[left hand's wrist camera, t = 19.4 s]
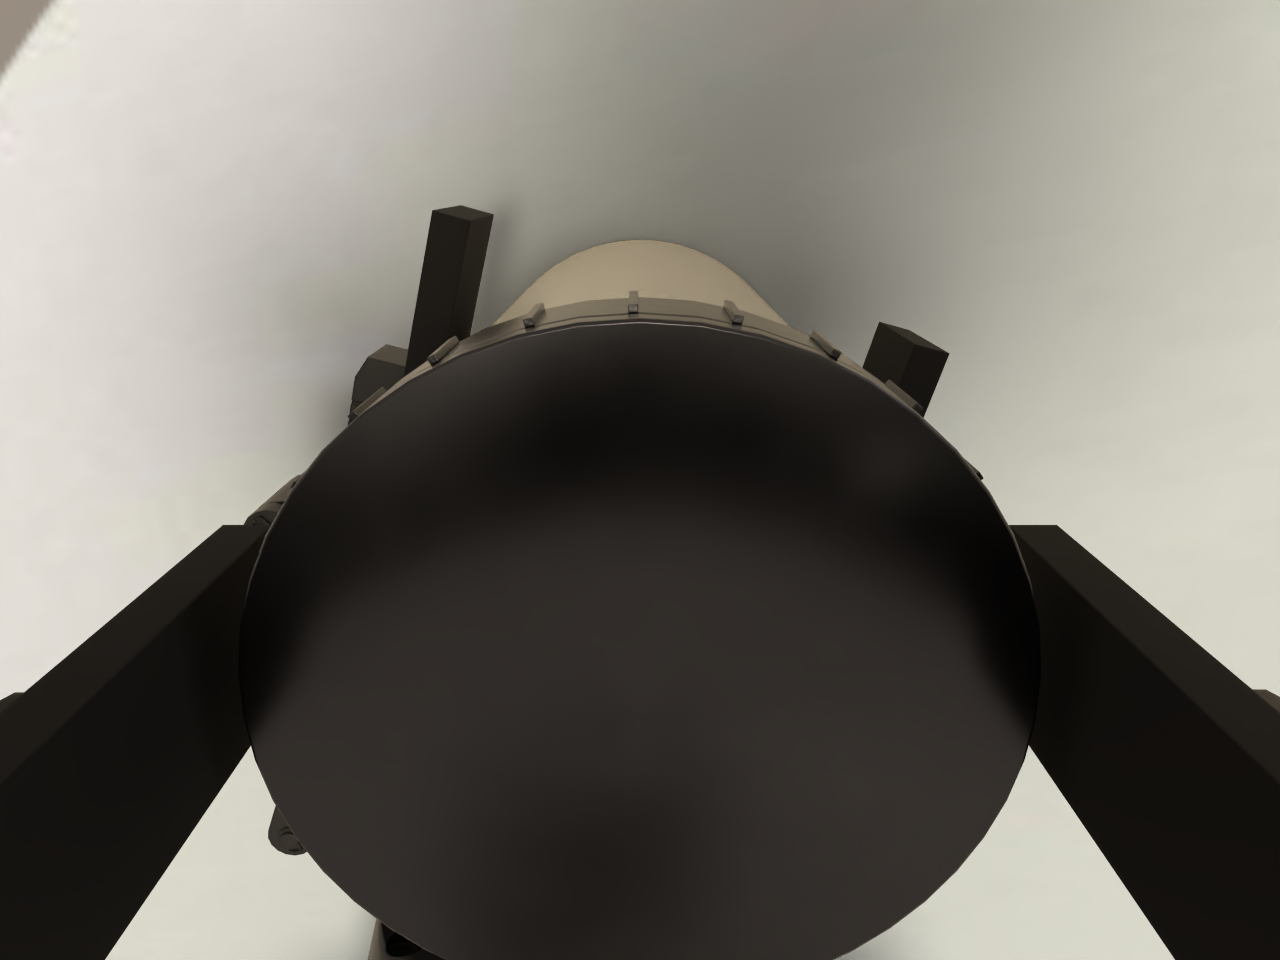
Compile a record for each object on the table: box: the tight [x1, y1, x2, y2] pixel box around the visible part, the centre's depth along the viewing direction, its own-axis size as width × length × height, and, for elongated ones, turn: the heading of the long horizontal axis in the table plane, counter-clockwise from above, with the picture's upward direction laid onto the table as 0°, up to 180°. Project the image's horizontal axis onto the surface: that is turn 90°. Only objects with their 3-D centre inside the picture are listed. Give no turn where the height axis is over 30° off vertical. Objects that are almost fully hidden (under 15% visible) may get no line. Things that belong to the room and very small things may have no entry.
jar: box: [490, 240, 790, 327], centre depth 18 cm, size 9×9×15 cm
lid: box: [238, 291, 1041, 960], centre depth 11 cm, size 10×10×2 cm
